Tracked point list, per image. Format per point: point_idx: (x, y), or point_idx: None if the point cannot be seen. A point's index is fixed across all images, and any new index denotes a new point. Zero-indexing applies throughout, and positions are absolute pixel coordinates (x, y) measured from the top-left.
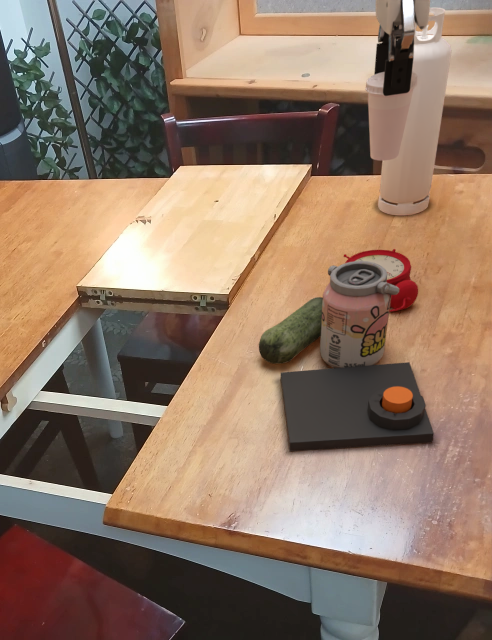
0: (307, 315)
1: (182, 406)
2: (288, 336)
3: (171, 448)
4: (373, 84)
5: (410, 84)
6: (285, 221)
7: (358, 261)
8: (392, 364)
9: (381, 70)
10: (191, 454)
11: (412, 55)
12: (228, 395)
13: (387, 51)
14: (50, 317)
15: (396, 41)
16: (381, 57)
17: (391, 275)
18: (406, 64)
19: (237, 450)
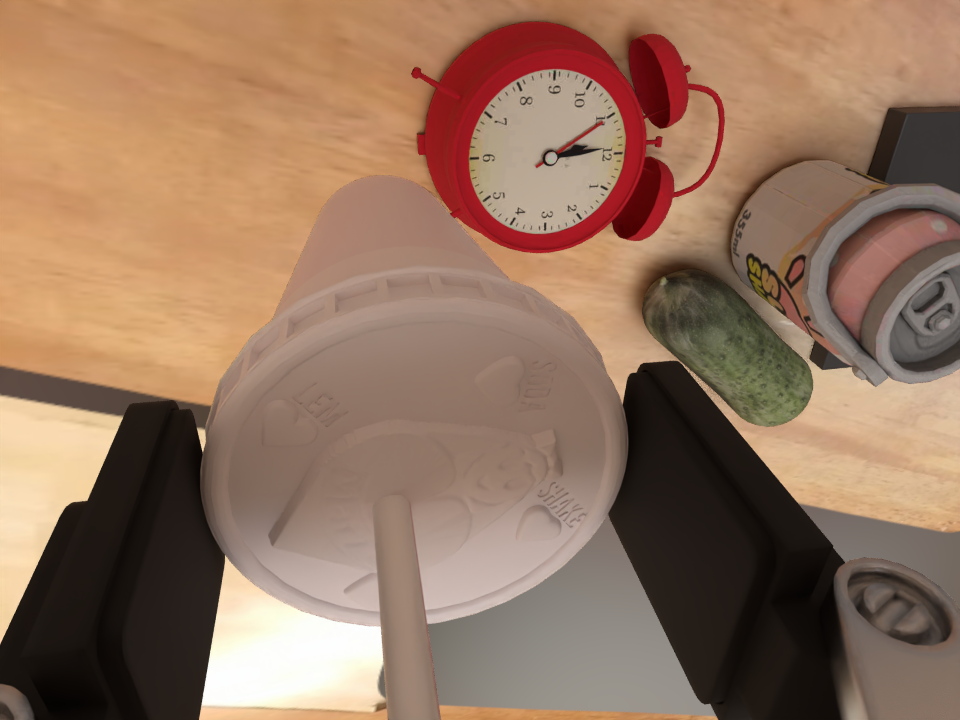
0: (756, 352)
1: (808, 496)
2: (806, 384)
3: (895, 495)
4: (492, 586)
5: (694, 383)
6: (35, 364)
7: (891, 318)
8: (897, 153)
9: (213, 565)
10: (920, 469)
11: (931, 592)
12: (810, 436)
13: (176, 679)
14: (482, 714)
15: (106, 708)
16: (191, 668)
17: (603, 117)
18: (840, 560)
19: (944, 413)
